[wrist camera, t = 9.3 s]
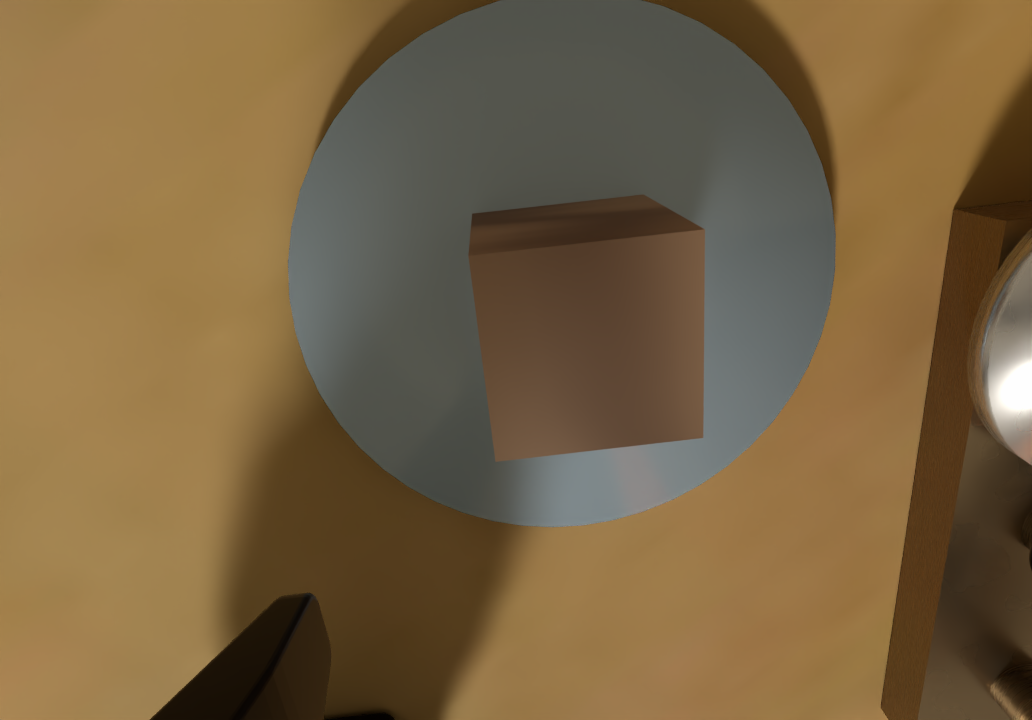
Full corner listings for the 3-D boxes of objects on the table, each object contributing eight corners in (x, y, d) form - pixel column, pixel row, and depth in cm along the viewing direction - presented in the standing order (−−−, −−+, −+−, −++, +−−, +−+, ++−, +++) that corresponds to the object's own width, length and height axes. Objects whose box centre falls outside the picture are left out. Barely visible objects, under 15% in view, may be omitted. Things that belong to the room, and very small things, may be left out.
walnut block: (491, 371, 18) (495, 462, 14) (471, 213, 17) (468, 256, 12) (647, 354, 18) (703, 438, 14) (643, 194, 17) (705, 229, 12)
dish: (357, 529, 22) (350, 553, 21) (237, 35, 16) (219, 29, 15) (799, 477, 22) (816, 497, 21) (834, -35, 16) (860, -45, 15)
